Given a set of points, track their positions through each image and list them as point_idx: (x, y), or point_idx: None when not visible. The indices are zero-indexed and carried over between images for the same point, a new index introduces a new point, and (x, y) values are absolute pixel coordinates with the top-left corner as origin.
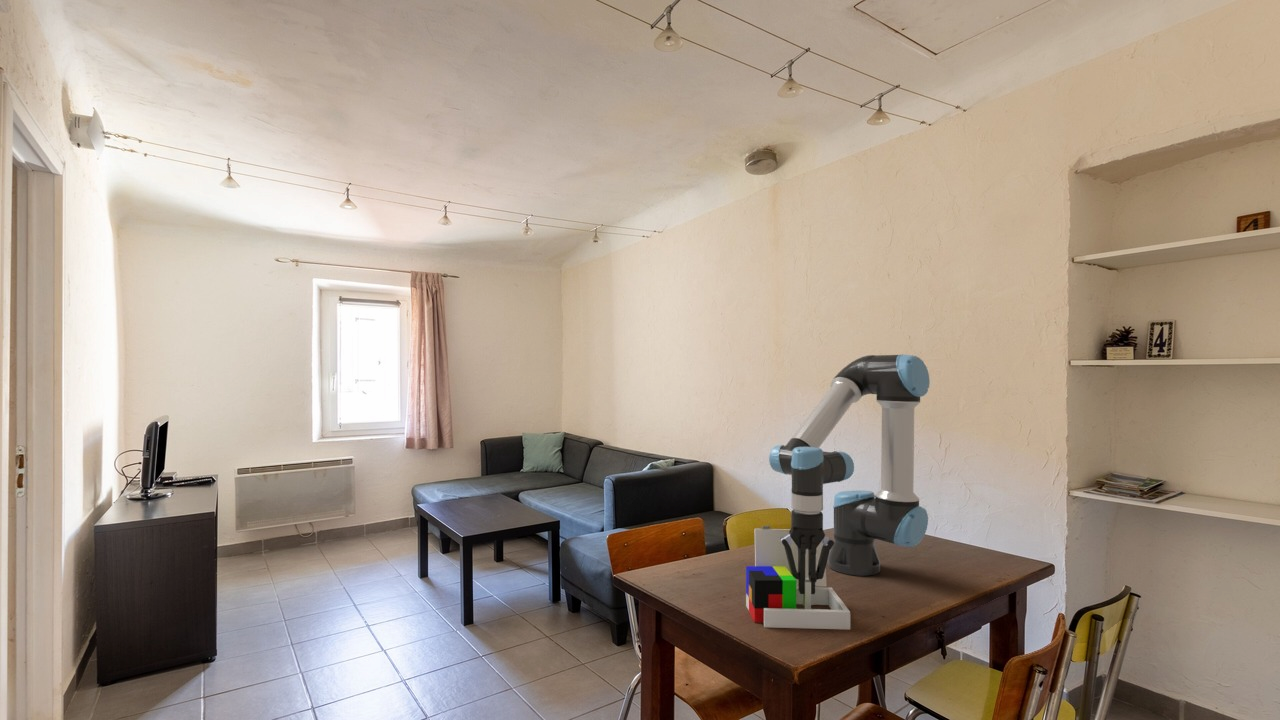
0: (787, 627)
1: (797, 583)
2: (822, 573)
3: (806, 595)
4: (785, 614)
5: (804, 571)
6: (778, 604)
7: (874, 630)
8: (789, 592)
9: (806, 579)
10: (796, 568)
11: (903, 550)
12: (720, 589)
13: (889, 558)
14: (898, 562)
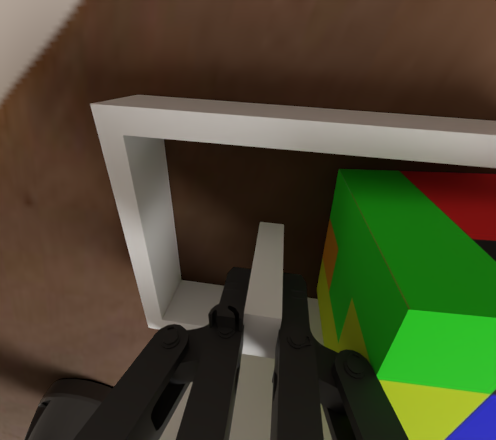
0: (409, 115)
1: (265, 357)
2: (147, 361)
3: (276, 261)
4: (453, 127)
5: (284, 398)
6: (461, 207)
7: (47, 86)
8: (425, 244)
9: (257, 345)
10: (262, 427)
11: (21, 425)
12: None
13: None
14: (24, 402)
